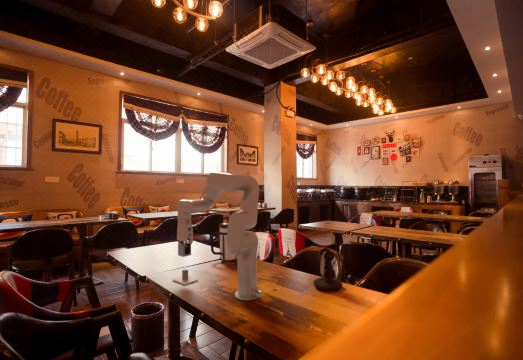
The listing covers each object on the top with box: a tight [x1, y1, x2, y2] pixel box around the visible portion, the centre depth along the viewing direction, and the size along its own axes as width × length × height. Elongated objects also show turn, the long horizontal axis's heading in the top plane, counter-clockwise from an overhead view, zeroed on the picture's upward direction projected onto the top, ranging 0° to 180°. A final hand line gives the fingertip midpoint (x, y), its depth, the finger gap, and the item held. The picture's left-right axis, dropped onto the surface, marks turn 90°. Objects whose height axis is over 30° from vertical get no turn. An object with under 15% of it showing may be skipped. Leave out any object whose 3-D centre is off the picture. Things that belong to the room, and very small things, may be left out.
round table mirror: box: [313, 247, 343, 292], centre depth 148 cm, size 15×15×20 cm
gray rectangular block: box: [177, 242, 192, 258], centre depth 161 cm, size 5×5×7 cm
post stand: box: [172, 269, 199, 286], centre depth 161 cm, size 12×9×6 cm
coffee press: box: [210, 218, 238, 264], centre depth 202 cm, size 17×16×30 cm
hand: (184, 252), depth 161 cm, fingers closed on gray rectangular block, 5 cm apart
